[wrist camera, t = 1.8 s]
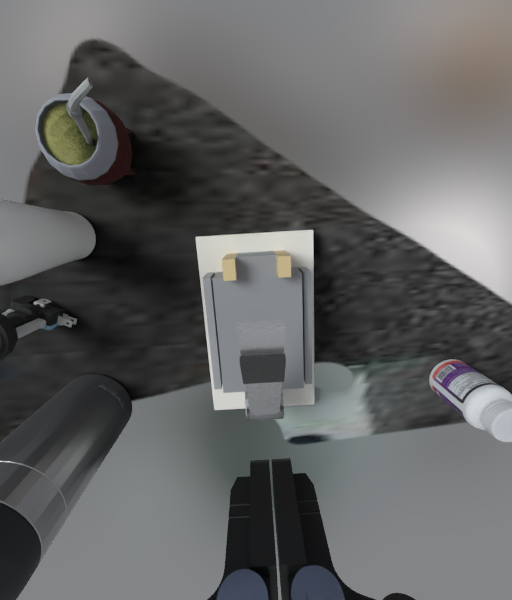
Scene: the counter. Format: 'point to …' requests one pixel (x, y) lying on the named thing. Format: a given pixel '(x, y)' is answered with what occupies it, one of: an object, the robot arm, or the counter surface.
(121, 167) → the mate gourd
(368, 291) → the counter surface
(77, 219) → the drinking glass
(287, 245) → the base
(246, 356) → the latch bar
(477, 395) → the pill bottle
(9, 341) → the push button
